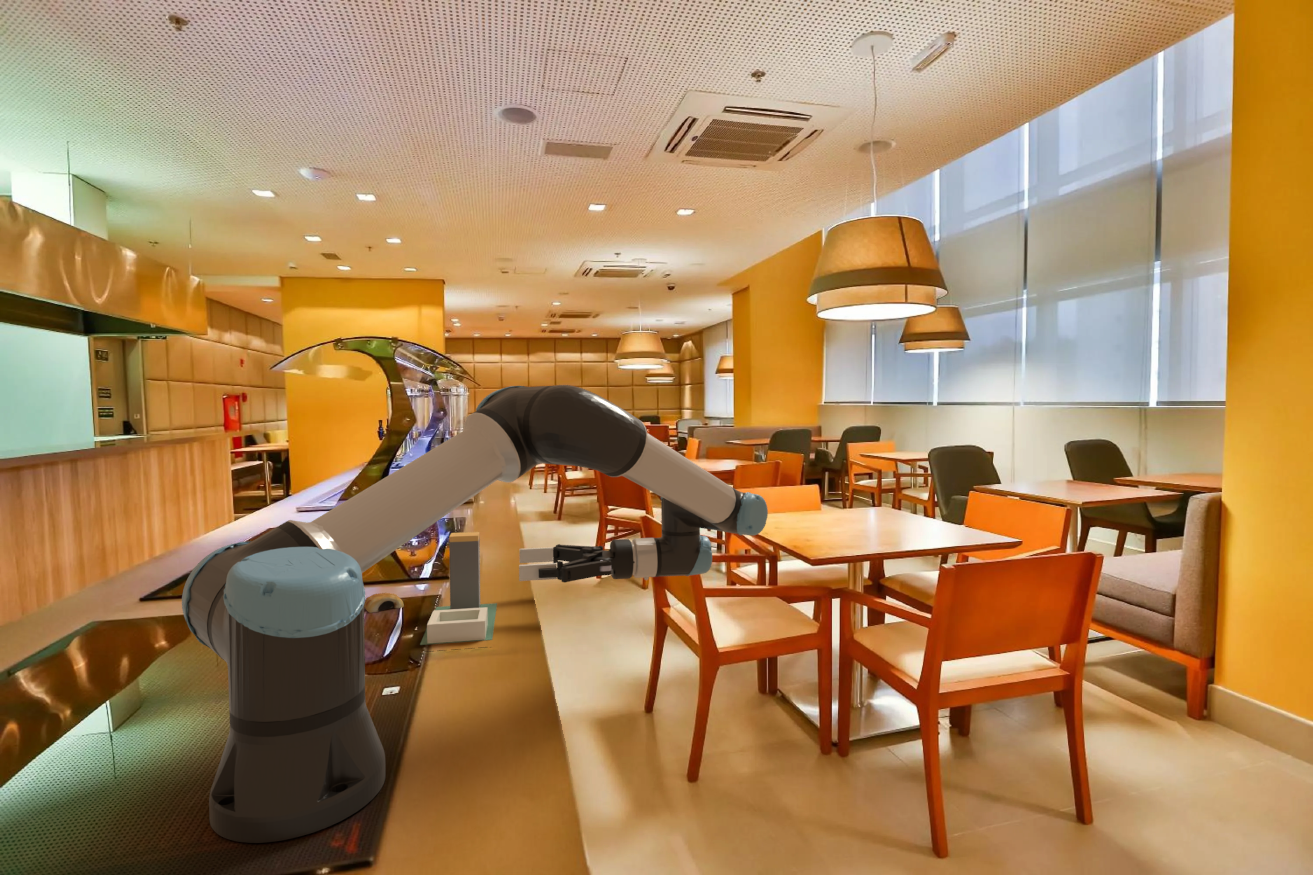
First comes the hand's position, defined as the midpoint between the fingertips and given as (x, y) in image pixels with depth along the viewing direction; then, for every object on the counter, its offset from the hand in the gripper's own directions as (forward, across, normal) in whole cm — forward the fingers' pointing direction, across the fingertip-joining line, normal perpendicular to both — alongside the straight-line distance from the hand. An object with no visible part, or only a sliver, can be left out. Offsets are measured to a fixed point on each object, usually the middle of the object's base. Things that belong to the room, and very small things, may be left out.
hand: (519, 563), depth 120 cm
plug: (+10, 0, -8) cm, 13 cm away
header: (+10, -13, -8) cm, 18 cm away
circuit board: (+10, -7, -9) cm, 15 cm away
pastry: (+25, +6, -10) cm, 28 cm away
